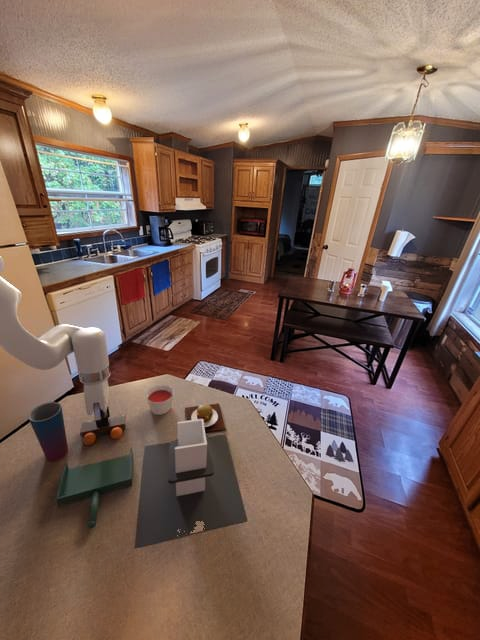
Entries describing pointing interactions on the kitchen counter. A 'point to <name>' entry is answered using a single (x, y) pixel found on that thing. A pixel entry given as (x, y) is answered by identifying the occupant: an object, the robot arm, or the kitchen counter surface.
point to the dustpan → (94, 482)
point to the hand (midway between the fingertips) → (103, 421)
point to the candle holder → (187, 486)
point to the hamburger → (207, 416)
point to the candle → (160, 399)
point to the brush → (113, 423)
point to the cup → (50, 430)
